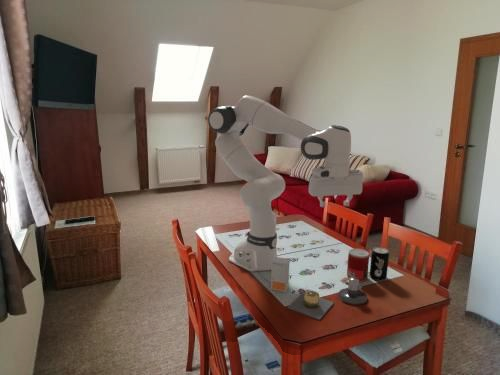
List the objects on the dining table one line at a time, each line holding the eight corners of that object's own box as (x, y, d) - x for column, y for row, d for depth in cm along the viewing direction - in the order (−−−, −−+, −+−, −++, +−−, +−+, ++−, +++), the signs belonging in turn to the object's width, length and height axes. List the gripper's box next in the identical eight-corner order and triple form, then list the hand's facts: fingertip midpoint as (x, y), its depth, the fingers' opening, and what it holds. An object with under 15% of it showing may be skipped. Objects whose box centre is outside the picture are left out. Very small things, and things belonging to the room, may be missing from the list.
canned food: (368, 282, 146) (370, 257, 144) (347, 280, 148) (349, 255, 145) (366, 273, 154) (368, 249, 151) (346, 271, 155) (348, 247, 152)
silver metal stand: (334, 299, 135) (335, 280, 133) (344, 287, 142) (345, 269, 141) (361, 308, 129) (363, 288, 127) (370, 295, 137) (372, 277, 135)
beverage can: (368, 279, 149) (371, 251, 146) (370, 272, 155) (372, 245, 152) (386, 282, 147) (389, 254, 144) (386, 275, 153) (389, 248, 150)
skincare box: (270, 289, 141) (271, 260, 138) (273, 284, 145) (274, 256, 142) (286, 292, 139) (287, 263, 136) (288, 287, 143) (289, 258, 140)
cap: (301, 301, 132) (302, 290, 131) (315, 300, 133) (316, 288, 132) (306, 309, 127) (306, 298, 126) (320, 308, 128) (321, 296, 127)
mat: (287, 308, 129) (287, 306, 129) (303, 293, 138) (303, 292, 138) (319, 320, 122) (319, 318, 122) (333, 303, 132) (333, 302, 131)
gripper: (359, 167, 141) (356, 202, 145) (308, 169, 138) (306, 204, 141) (367, 171, 135) (364, 207, 139) (313, 173, 132) (311, 209, 135)
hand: (334, 206), depth 140 cm, fingers open, 8 cm apart
